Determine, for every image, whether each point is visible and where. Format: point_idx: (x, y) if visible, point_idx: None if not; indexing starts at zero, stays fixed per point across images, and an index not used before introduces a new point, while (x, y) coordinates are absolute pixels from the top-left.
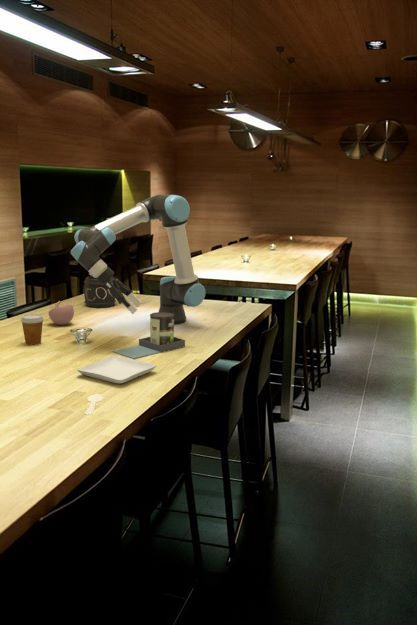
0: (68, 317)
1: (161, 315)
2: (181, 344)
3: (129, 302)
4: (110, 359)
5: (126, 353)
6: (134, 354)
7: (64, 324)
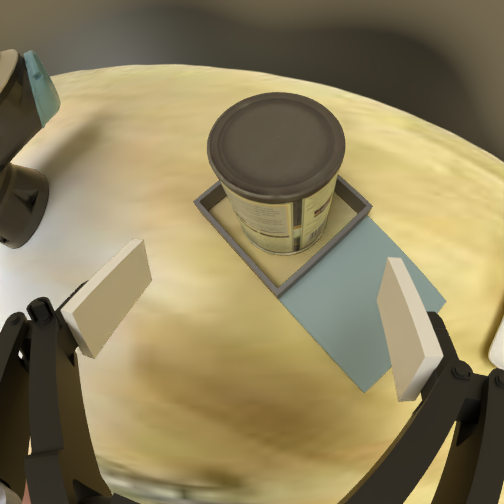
0: None
1: (293, 139)
2: None
3: (427, 319)
4: (499, 363)
5: None
6: None
7: None
